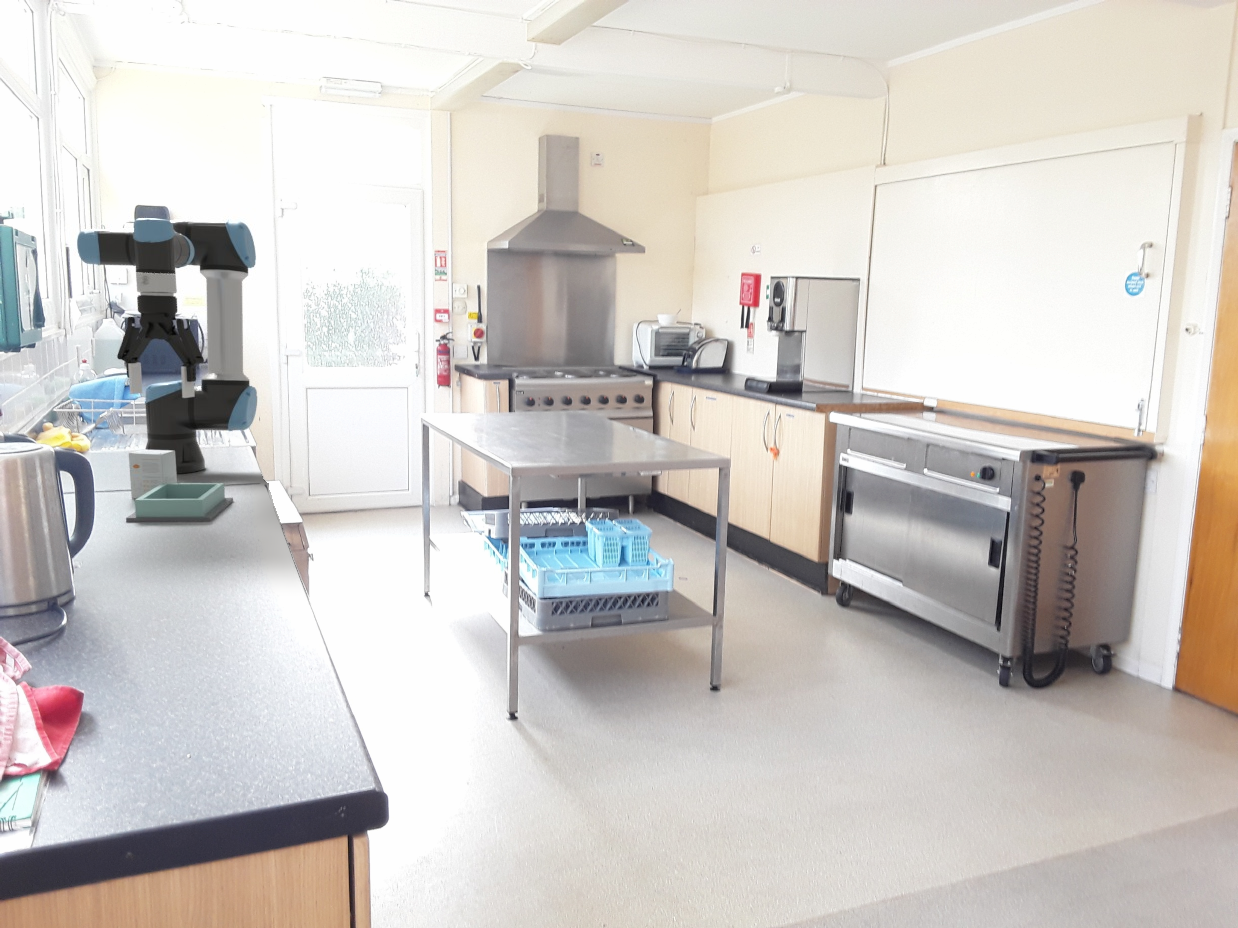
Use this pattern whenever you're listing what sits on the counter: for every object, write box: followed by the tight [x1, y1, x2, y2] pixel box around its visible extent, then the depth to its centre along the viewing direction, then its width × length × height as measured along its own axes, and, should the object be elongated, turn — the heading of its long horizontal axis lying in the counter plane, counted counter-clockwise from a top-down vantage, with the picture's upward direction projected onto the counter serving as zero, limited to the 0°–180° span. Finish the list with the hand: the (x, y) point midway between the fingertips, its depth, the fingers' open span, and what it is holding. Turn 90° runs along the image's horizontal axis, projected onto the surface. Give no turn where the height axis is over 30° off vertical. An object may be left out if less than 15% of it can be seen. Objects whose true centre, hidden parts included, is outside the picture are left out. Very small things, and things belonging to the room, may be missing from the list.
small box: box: [128, 448, 178, 500], centre depth 214 cm, size 8×6×10 cm
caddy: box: [125, 482, 234, 523], centre depth 201 cm, size 20×16×4 cm
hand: (162, 395), depth 202 cm, fingers open, 13 cm apart
